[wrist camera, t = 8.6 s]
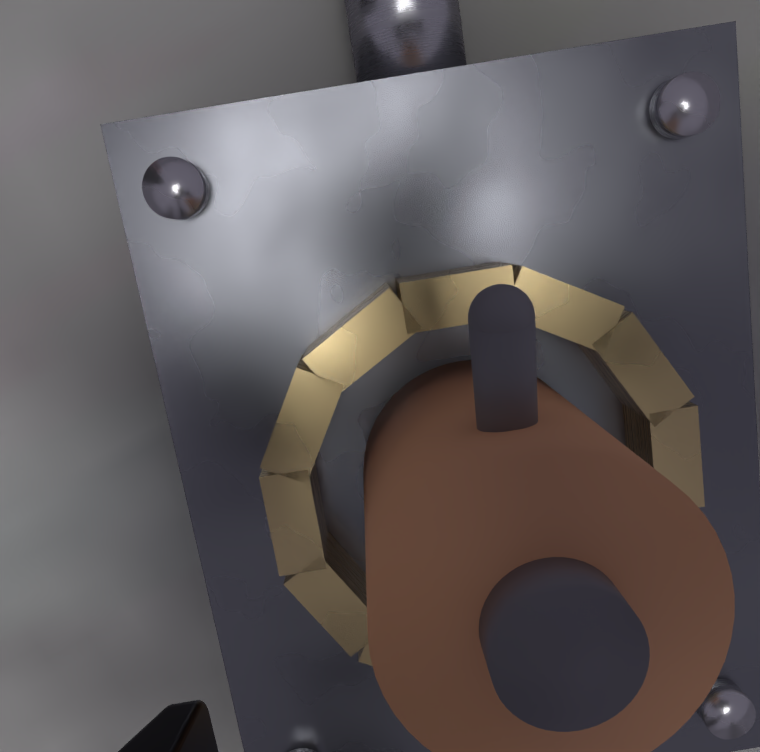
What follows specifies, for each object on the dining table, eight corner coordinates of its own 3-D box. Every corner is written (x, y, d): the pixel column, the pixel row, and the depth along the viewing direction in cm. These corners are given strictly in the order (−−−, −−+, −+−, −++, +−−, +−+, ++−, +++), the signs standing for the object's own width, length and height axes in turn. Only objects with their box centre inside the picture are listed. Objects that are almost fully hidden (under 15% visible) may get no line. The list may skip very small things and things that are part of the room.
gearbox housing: (721, 681, 20) (811, 791, 16) (273, 755, 20) (253, 883, 16) (670, -87, 16) (771, -191, 12) (108, 5, 16) (27, -70, 12)
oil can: (593, 551, 16) (777, 798, 9) (382, 586, 16) (402, 860, 9) (560, 246, 15) (749, 257, 8) (329, 285, 15) (303, 330, 8)
